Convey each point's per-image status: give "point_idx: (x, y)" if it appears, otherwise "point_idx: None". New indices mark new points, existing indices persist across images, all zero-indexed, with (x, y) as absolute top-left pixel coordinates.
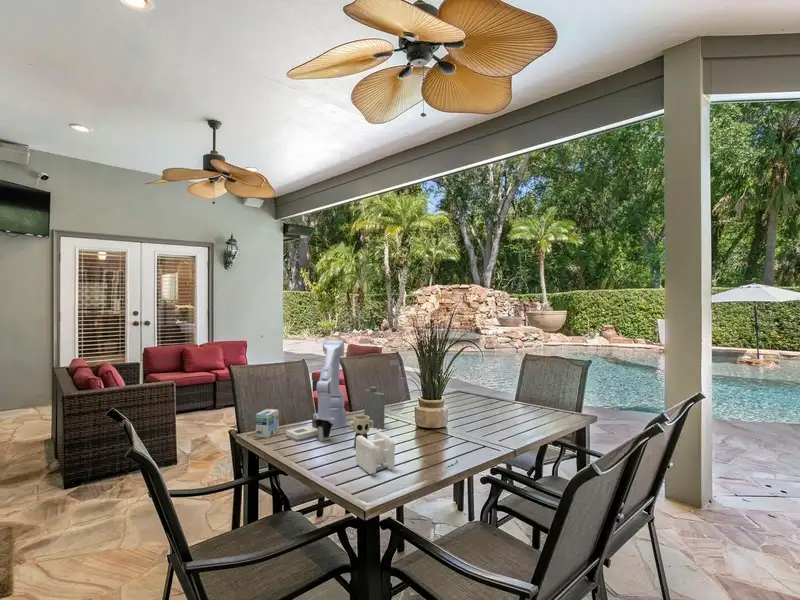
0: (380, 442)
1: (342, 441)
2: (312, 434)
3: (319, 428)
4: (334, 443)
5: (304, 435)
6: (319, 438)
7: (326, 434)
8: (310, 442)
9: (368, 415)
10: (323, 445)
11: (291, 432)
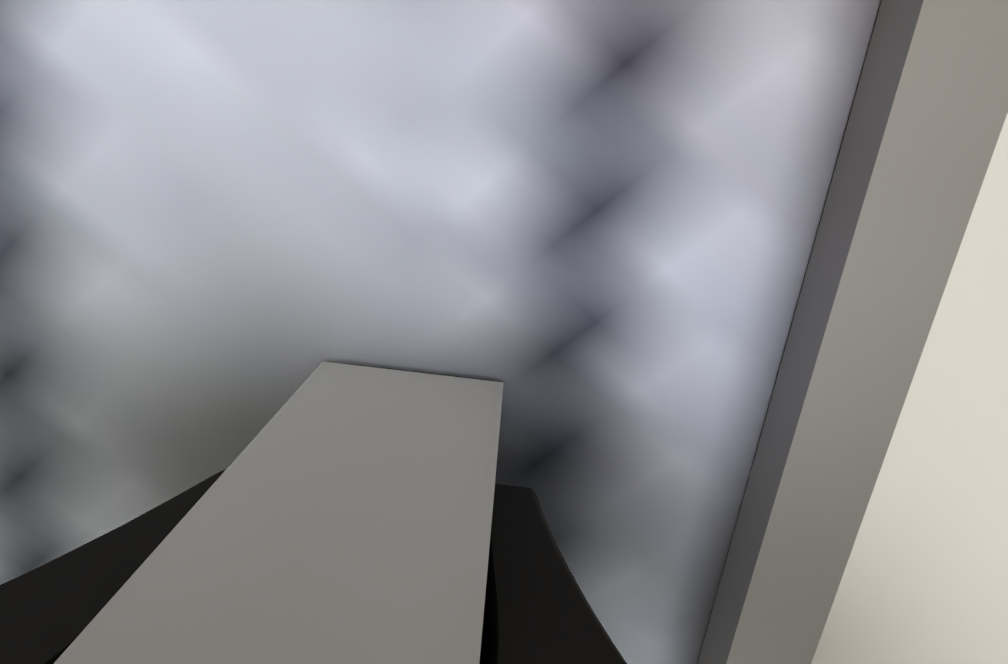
0: None
1: None
2: (817, 446)
3: (387, 626)
4: (19, 451)
5: (947, 126)
6: (452, 397)
7: None
8: (537, 108)
9: None
10: (46, 172)
11: None
